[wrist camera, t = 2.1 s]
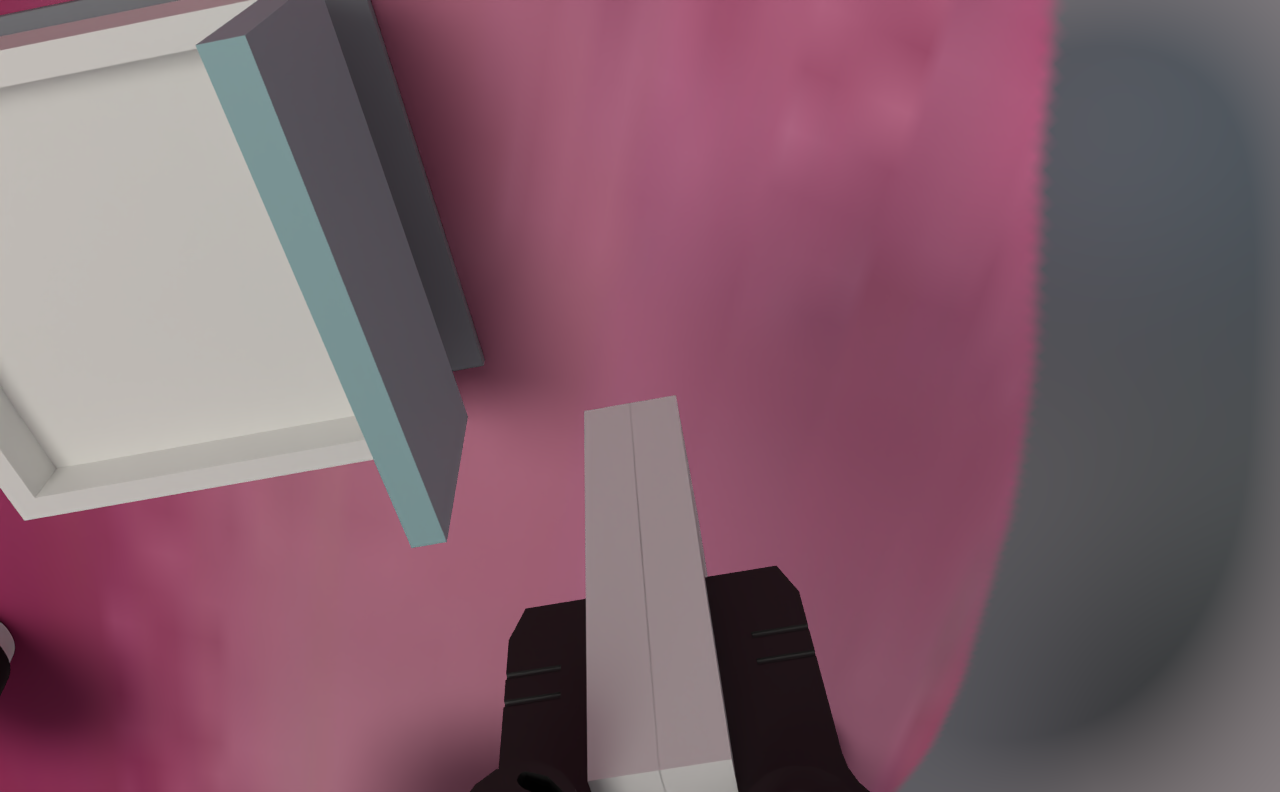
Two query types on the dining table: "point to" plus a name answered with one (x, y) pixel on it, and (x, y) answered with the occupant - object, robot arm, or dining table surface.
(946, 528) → the dining table surface
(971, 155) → the dining table surface
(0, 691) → the dixie cup
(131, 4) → the track
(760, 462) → the dining table surface
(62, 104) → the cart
